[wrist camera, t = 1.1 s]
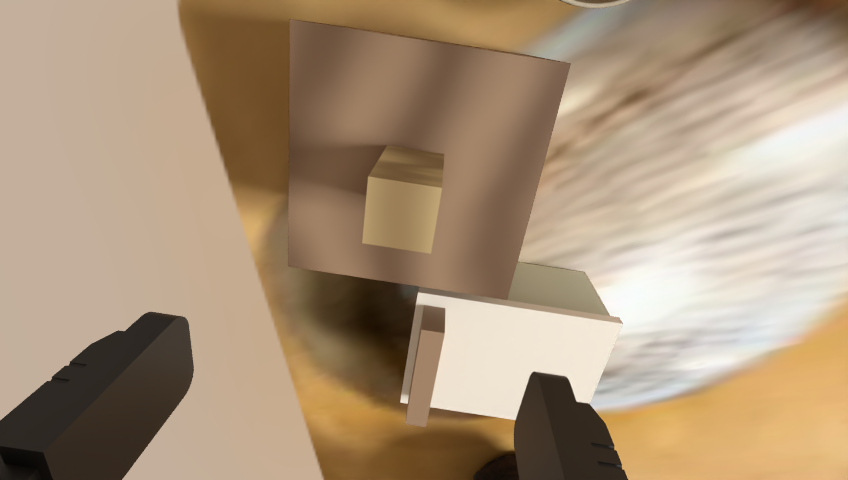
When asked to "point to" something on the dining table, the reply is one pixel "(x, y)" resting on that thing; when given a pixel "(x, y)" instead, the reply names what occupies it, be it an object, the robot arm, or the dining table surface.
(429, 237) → the cover
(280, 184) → the dining table surface
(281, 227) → the dining table surface
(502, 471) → the brown rounded lump
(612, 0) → the flower pot
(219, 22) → the dining table surface
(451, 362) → the lid
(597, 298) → the box
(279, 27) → the dining table surface
